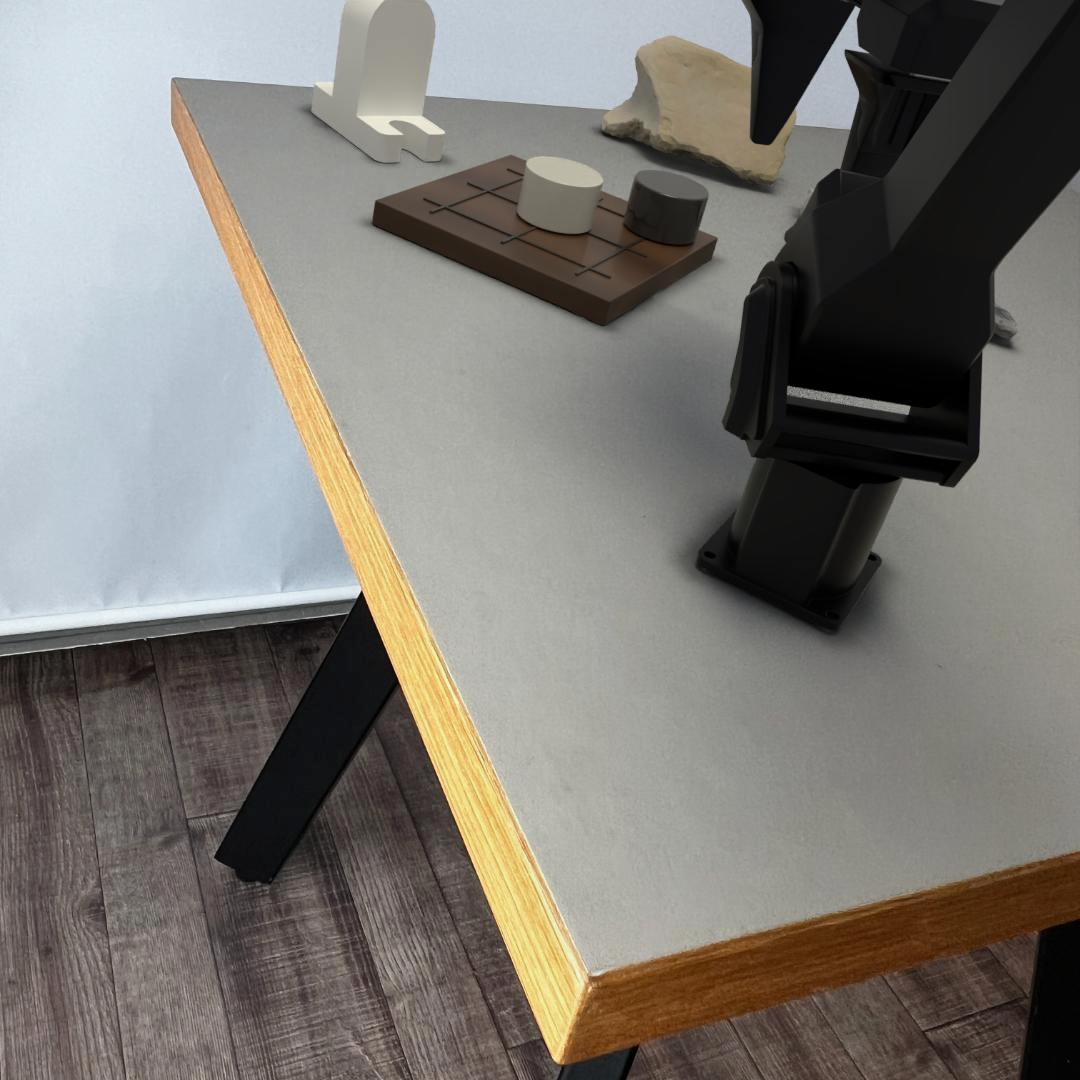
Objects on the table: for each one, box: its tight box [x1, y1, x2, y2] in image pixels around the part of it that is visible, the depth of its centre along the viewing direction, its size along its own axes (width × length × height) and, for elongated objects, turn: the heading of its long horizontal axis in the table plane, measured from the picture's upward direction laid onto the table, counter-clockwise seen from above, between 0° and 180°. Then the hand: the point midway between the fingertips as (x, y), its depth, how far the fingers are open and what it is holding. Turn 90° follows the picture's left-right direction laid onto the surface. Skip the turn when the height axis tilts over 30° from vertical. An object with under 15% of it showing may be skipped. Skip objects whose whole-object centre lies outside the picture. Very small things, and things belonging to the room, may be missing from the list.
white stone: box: [517, 155, 604, 234], centre depth 76 cm, size 5×5×3 cm
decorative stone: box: [600, 35, 797, 186], centre depth 97 cm, size 8×14×8 cm, turn 80°
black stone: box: [623, 169, 710, 245], centre depth 78 cm, size 5×5×3 cm
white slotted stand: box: [310, 0, 446, 164], centre depth 84 cm, size 5×10×10 cm, turn 37°
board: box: [371, 154, 719, 326], centre depth 77 cm, size 16×16×2 cm
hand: (798, 178), depth 58 cm, fingers open, 9 cm apart
